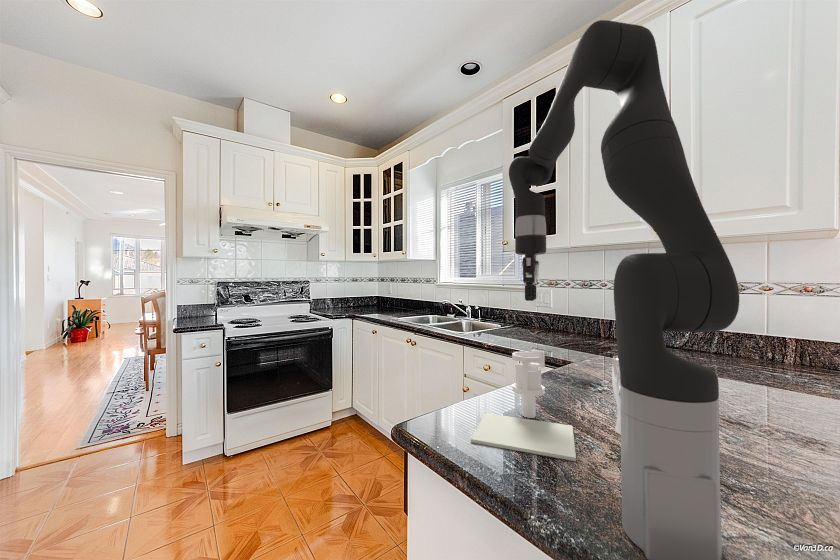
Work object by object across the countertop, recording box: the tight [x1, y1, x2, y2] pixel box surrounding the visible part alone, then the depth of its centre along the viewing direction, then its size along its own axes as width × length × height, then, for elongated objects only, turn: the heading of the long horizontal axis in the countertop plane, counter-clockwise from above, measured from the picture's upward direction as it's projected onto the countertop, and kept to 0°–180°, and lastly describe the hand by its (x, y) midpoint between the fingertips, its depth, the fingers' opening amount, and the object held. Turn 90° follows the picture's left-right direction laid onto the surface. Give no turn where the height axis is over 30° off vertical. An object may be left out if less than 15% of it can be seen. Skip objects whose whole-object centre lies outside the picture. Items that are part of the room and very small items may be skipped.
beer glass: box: [611, 354, 621, 436], centre depth 67 cm, size 7×7×15 cm
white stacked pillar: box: [511, 348, 546, 419], centre depth 76 cm, size 7×7×15 cm
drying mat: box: [470, 412, 577, 462], centre depth 66 cm, size 14×18×1 cm
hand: (530, 299), depth 85 cm, fingers open, 7 cm apart
